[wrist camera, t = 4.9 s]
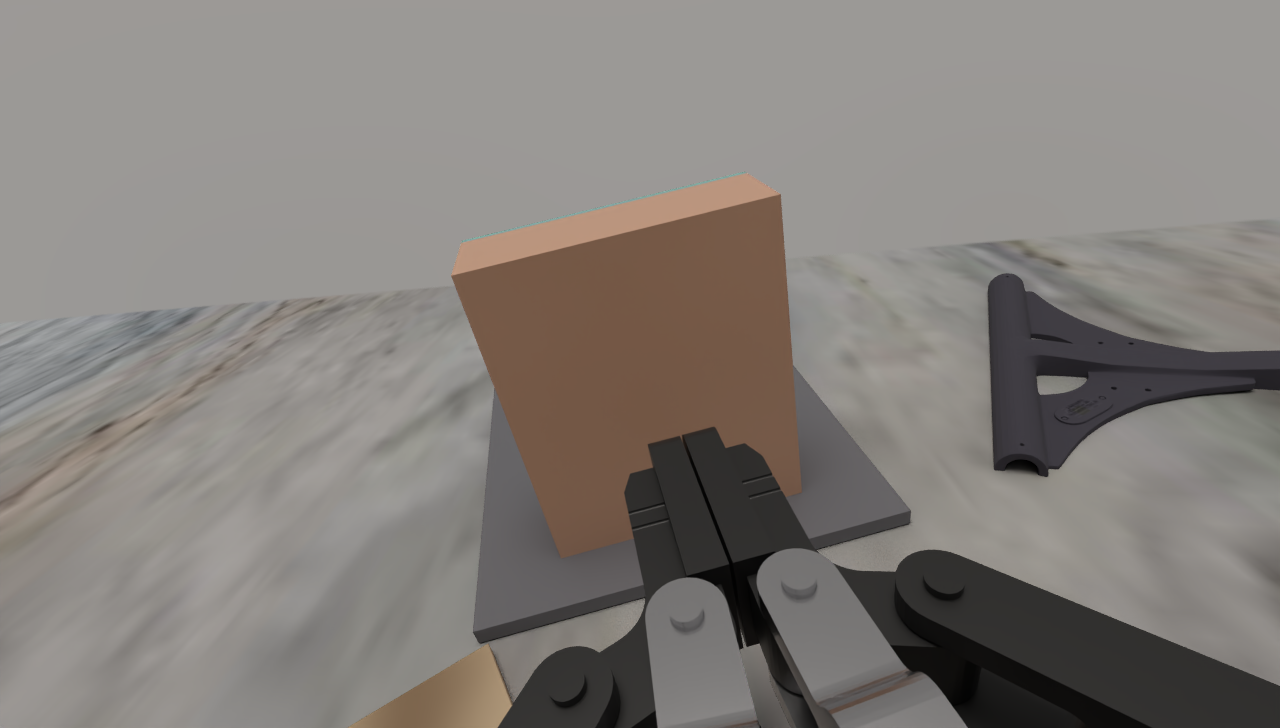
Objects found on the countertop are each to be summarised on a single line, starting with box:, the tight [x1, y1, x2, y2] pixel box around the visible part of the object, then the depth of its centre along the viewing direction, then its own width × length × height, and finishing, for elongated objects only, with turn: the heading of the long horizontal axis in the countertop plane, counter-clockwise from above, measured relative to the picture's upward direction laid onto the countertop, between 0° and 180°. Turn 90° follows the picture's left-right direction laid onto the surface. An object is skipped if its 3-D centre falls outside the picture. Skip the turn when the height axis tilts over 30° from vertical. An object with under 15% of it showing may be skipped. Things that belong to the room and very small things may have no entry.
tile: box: [451, 172, 802, 558], centre depth 20 cm, size 9×3×11 cm, turn 100°
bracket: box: [988, 274, 1280, 477], centre depth 23 cm, size 14×15×3 cm
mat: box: [473, 366, 911, 643], centre depth 28 cm, size 15×19×1 cm
